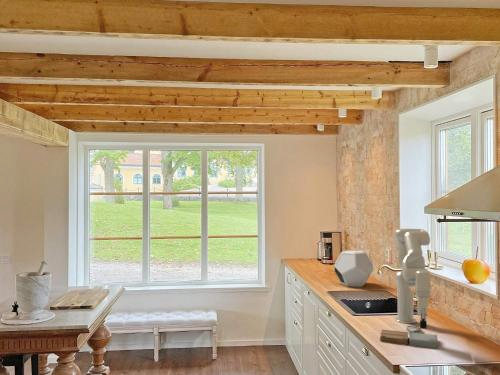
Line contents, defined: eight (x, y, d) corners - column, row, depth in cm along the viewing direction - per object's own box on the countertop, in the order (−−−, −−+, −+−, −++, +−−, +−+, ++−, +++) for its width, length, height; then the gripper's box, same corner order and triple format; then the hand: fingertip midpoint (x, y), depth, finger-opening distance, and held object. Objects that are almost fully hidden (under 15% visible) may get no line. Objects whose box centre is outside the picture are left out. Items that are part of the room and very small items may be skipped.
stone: (403, 329, 267) (403, 324, 267) (418, 330, 267) (418, 324, 267) (411, 335, 255) (411, 329, 255) (427, 336, 255) (427, 330, 255)
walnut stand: (381, 335, 258) (381, 329, 258) (407, 337, 254) (407, 332, 254) (380, 342, 245) (380, 336, 245) (407, 345, 240) (407, 339, 240)
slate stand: (409, 337, 253) (409, 331, 253) (436, 340, 248) (436, 334, 248) (409, 345, 240) (409, 339, 240) (438, 348, 235) (438, 342, 235)
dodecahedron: (380, 287, 389) (380, 252, 390) (341, 289, 383) (341, 254, 383) (363, 280, 422) (363, 248, 423) (327, 282, 416) (327, 249, 416)
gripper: (415, 290, 253) (415, 323, 253) (415, 296, 239) (415, 331, 238) (430, 291, 251) (430, 324, 250) (430, 297, 236) (431, 332, 236)
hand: (423, 327), depth 244 cm, fingers closed
